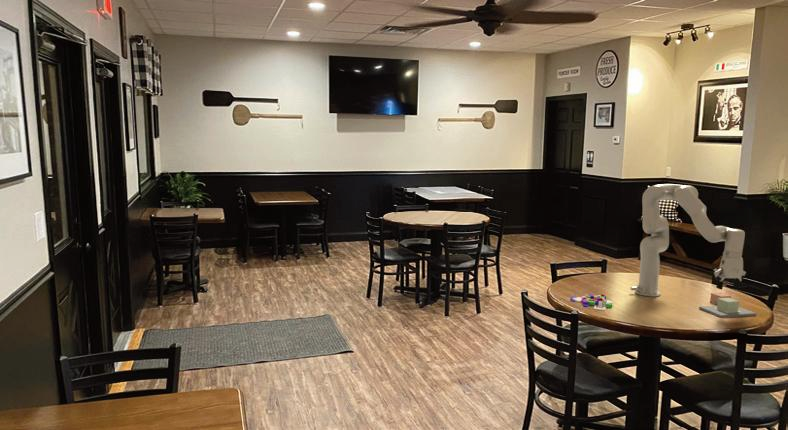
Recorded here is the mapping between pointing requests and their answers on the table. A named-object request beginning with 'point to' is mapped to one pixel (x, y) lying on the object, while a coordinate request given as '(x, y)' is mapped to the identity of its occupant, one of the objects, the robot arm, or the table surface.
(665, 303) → the table surface
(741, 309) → the slate baseplate
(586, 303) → the building block set
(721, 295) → the terracotta block
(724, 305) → the sage green block
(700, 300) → the table surface
